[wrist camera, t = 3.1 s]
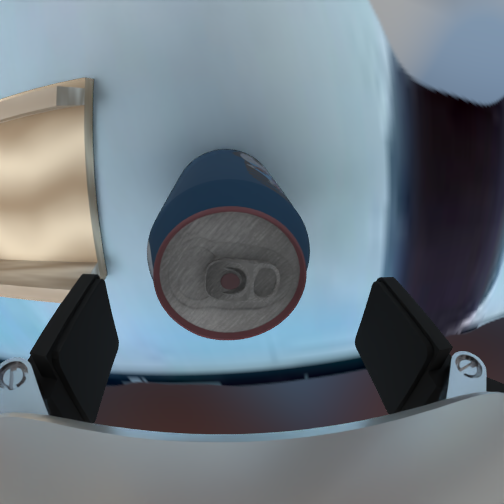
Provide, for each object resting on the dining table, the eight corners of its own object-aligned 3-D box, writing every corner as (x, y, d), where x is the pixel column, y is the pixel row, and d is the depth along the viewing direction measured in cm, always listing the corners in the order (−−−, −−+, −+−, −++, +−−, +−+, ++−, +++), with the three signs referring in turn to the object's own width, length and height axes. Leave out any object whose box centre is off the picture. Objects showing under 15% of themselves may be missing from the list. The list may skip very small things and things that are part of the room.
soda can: (175, 233, 23) (143, 344, 12) (181, 143, 20) (135, 183, 9) (264, 241, 24) (299, 352, 13) (278, 153, 21) (342, 204, 10)
